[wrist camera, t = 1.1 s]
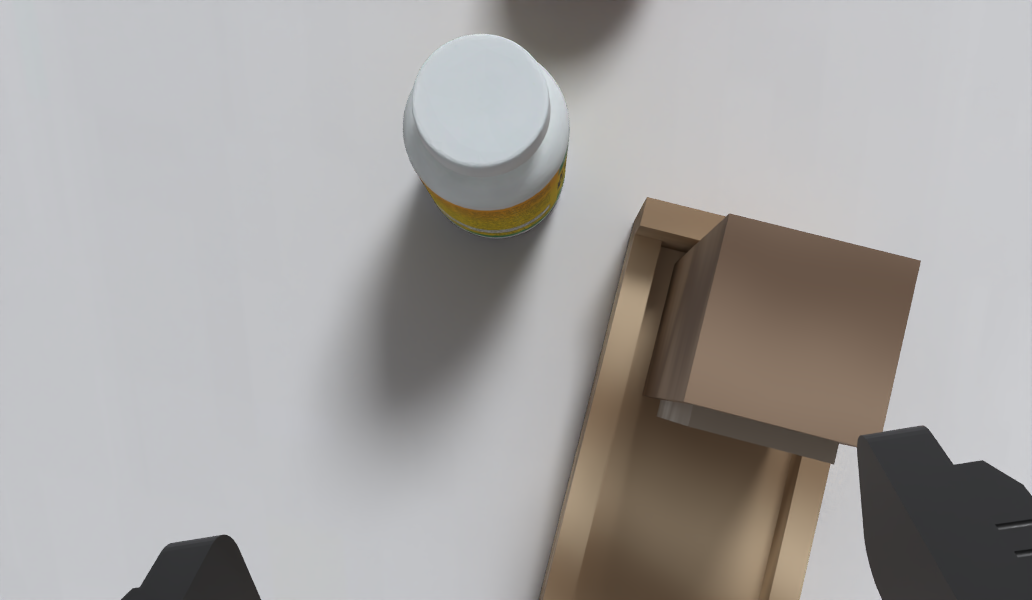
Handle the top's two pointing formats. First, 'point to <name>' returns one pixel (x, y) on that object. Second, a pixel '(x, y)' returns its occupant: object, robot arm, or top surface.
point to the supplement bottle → (488, 135)
